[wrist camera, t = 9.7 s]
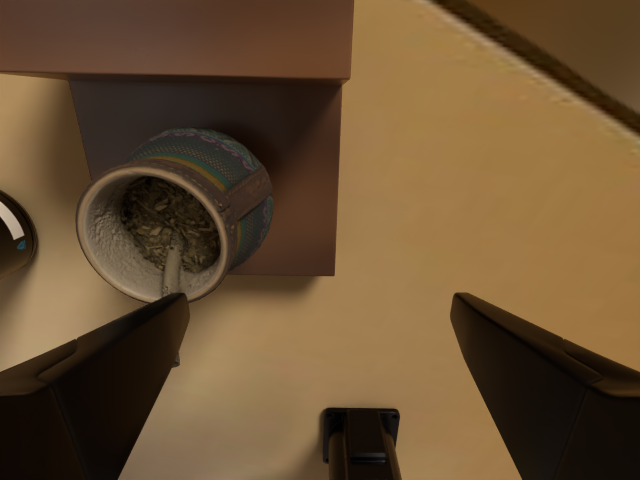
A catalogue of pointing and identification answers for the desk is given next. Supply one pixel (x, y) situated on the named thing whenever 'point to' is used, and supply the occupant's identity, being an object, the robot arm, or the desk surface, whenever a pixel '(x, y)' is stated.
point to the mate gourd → (176, 215)
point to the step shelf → (207, 93)
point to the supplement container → (15, 236)
